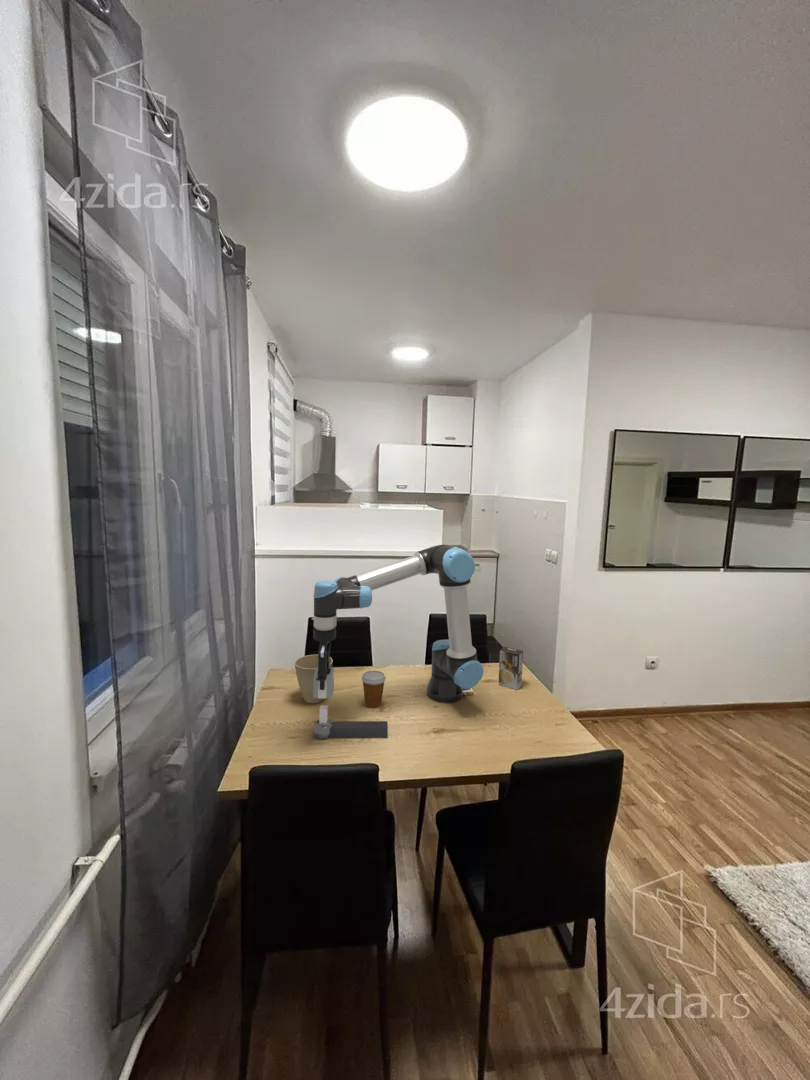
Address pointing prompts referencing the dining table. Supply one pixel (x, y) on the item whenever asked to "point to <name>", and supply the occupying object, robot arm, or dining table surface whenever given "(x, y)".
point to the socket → (329, 682)
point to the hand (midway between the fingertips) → (323, 692)
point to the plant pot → (308, 676)
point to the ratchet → (347, 728)
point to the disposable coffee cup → (373, 687)
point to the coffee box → (510, 667)
